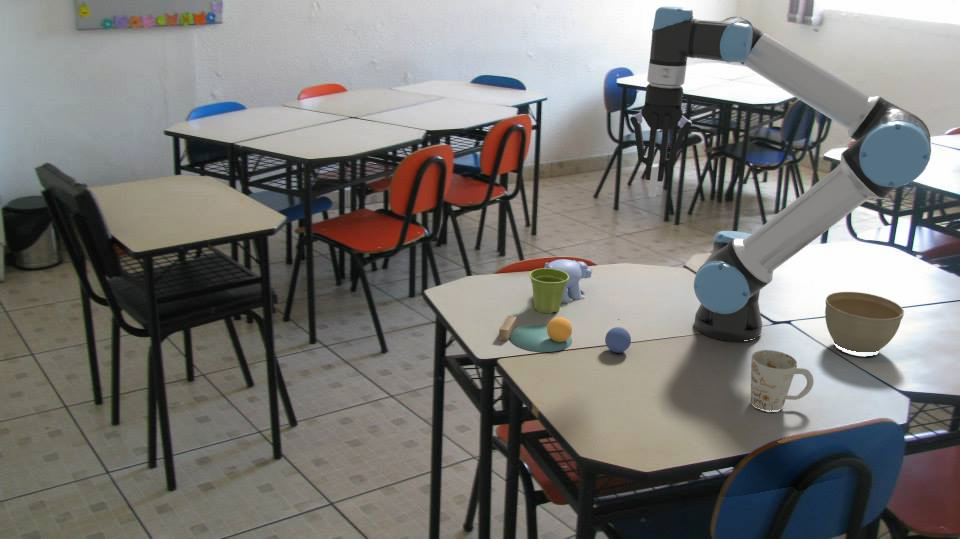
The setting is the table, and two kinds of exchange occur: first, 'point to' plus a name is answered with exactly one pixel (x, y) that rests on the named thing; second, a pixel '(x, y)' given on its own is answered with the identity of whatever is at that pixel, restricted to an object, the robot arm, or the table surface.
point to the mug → (774, 379)
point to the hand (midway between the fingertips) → (652, 195)
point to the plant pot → (548, 288)
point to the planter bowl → (862, 320)
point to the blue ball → (618, 339)
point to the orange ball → (559, 329)
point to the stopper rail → (507, 328)
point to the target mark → (536, 339)
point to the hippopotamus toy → (571, 277)
